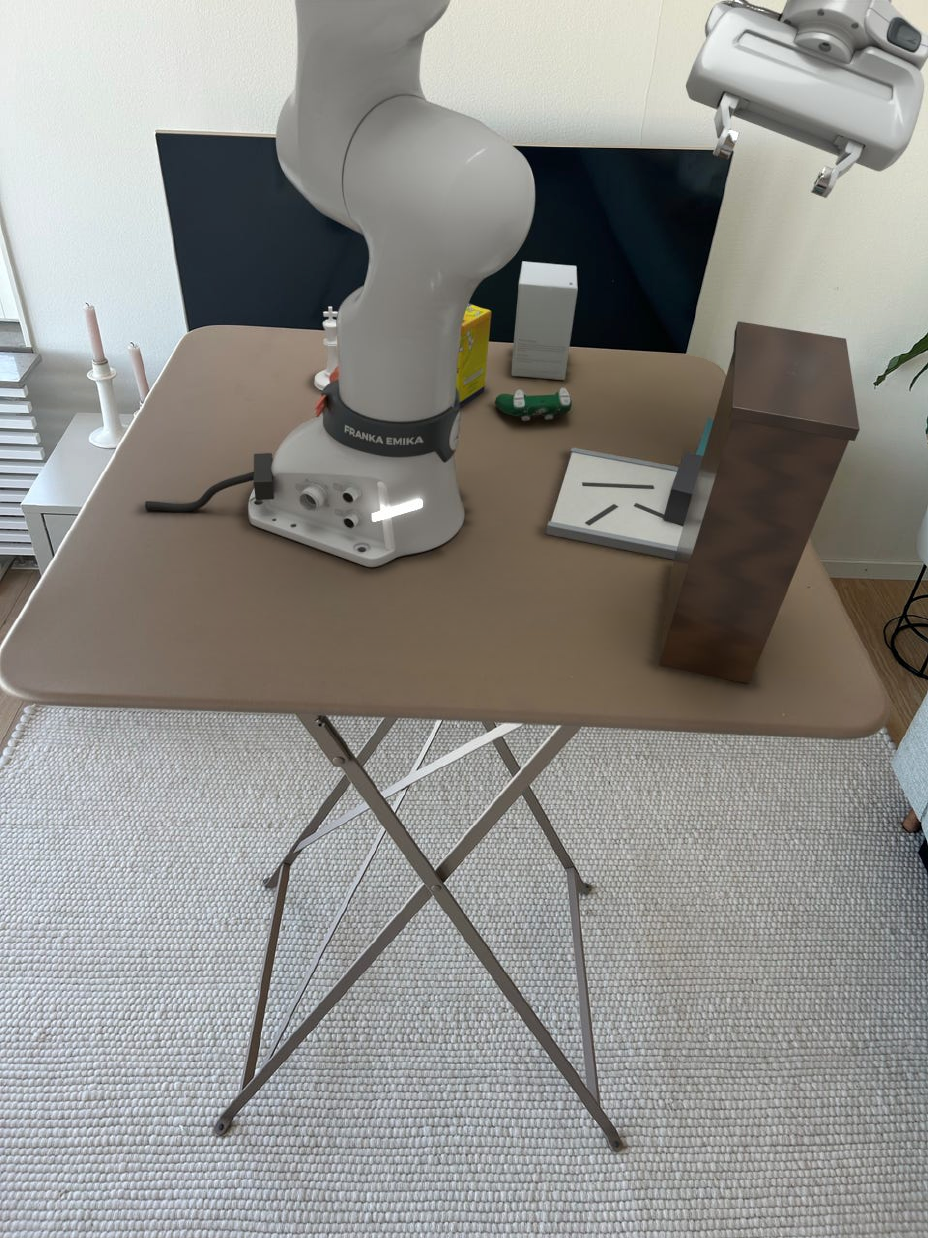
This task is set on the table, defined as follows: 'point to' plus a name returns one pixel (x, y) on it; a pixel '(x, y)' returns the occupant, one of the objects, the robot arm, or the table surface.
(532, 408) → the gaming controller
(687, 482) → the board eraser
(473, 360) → the supplement box
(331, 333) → the chess piece
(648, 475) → the whiteboard
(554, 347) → the white packaging box
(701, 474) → the walnut pedestal
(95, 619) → the table surface
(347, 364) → the robot arm
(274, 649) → the table surface
